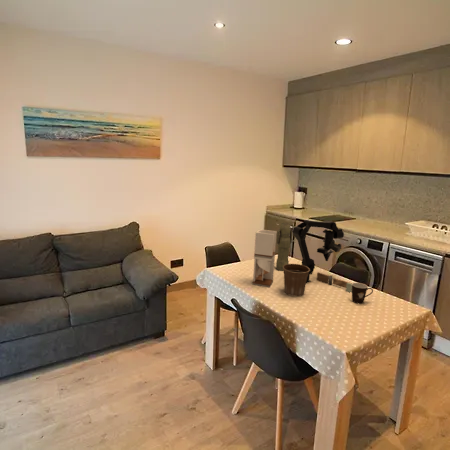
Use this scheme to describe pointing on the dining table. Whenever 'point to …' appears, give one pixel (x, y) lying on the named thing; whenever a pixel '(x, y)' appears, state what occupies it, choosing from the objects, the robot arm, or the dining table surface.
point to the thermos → (283, 245)
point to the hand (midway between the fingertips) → (326, 261)
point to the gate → (340, 282)
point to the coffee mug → (359, 292)
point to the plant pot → (295, 279)
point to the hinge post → (324, 278)
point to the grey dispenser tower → (264, 258)
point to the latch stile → (349, 287)
